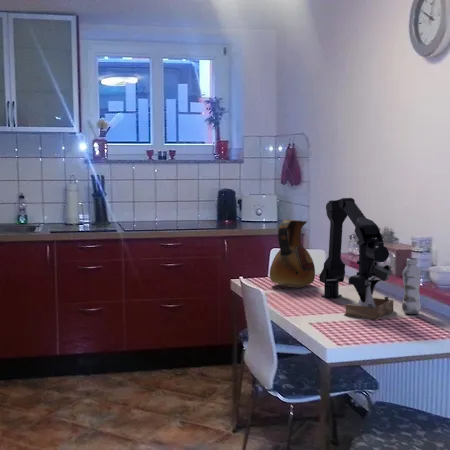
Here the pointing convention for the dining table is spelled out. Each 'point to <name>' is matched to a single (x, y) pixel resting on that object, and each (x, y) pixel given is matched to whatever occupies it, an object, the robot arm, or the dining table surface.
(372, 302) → the flask
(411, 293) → the plastic bottle
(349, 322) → the dining table surface
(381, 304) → the holder
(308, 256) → the ceramic pitcher
